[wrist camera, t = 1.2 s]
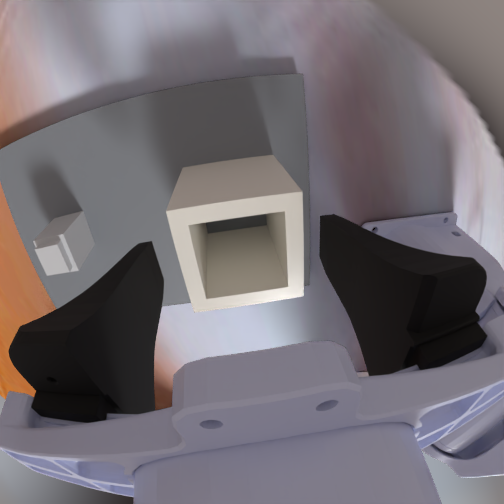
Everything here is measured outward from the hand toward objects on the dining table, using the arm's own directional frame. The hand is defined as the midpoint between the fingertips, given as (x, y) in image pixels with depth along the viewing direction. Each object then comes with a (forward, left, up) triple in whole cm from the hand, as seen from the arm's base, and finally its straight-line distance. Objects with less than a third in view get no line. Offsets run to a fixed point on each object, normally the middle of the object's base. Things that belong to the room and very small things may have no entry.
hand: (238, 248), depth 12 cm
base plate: (+5, 0, -6) cm, 8 cm away
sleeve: (0, 0, -5) cm, 5 cm away
